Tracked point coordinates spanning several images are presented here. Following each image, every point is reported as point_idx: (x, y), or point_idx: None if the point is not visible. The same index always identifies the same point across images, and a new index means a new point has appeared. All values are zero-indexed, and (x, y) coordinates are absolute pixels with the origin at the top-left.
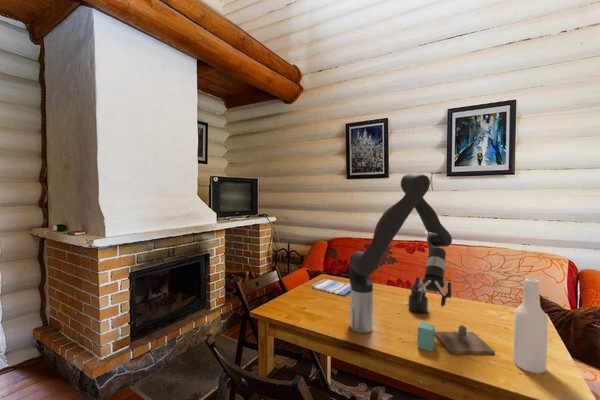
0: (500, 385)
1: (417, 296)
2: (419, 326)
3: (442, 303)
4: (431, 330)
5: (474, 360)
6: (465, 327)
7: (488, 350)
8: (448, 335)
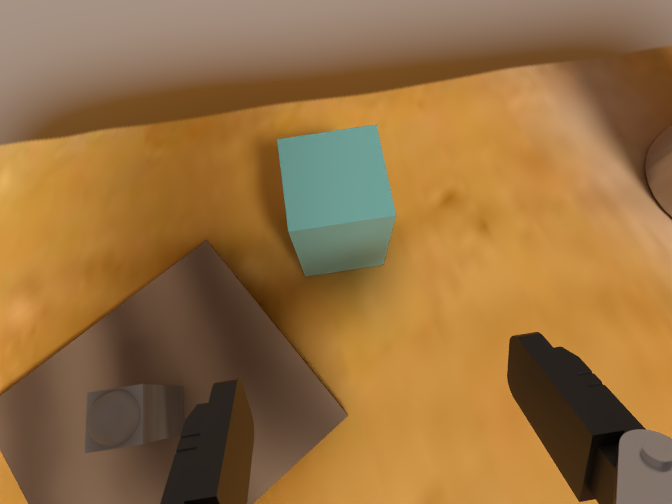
0: (13, 146)
1: (587, 370)
2: (370, 139)
3: (217, 388)
4: (284, 139)
5: (103, 265)
6: (86, 422)
7: (15, 391)
8: None
